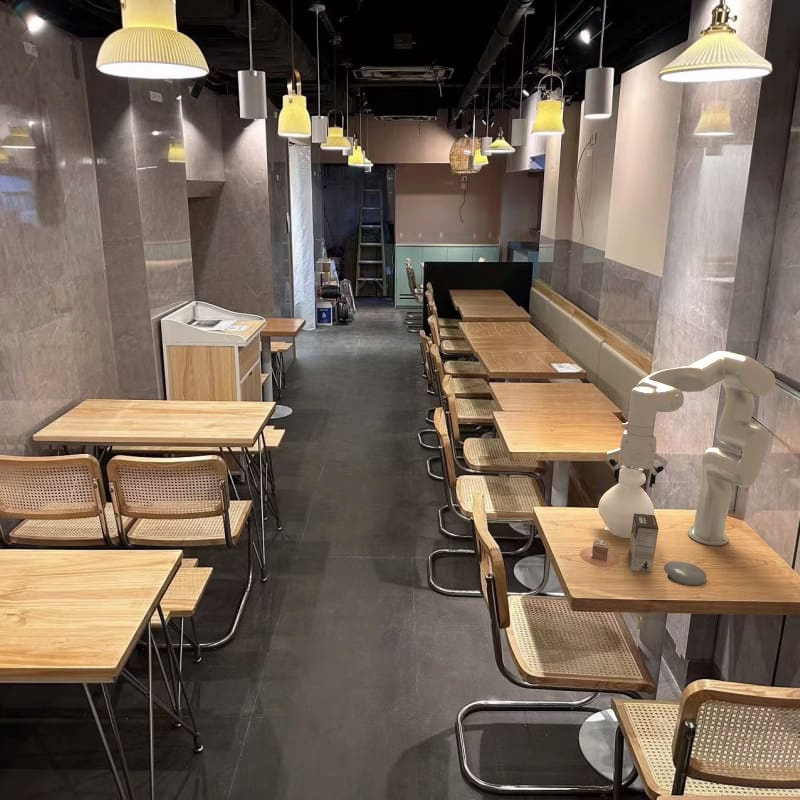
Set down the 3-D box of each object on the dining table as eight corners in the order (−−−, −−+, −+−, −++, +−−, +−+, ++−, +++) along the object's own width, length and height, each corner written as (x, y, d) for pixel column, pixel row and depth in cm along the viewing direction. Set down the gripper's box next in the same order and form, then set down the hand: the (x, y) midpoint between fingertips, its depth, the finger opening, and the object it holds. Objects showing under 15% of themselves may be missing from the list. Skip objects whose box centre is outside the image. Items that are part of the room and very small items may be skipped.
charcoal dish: (663, 561, 217) (663, 558, 217) (704, 569, 214) (705, 566, 213) (663, 580, 207) (663, 577, 206) (706, 589, 203) (707, 585, 202)
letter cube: (592, 551, 220) (594, 538, 218) (607, 554, 218) (609, 541, 217) (591, 558, 216) (593, 544, 214) (606, 561, 214) (608, 547, 213)
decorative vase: (648, 526, 241) (658, 459, 233) (652, 551, 224) (663, 479, 217) (595, 519, 245) (603, 453, 237) (595, 542, 228) (604, 472, 221)
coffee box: (626, 558, 218) (633, 512, 214) (647, 561, 217) (655, 514, 213) (629, 573, 210) (636, 525, 205) (652, 576, 209) (659, 528, 204)
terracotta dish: (581, 547, 225) (581, 544, 224) (620, 554, 221) (620, 551, 220) (577, 564, 214) (577, 561, 213) (617, 573, 210) (618, 569, 210)
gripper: (608, 429, 202) (602, 483, 207) (671, 437, 196) (664, 492, 201) (610, 421, 209) (605, 474, 214) (672, 429, 203) (664, 483, 208)
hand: (633, 483), depth 208 cm, fingers open, 9 cm apart
